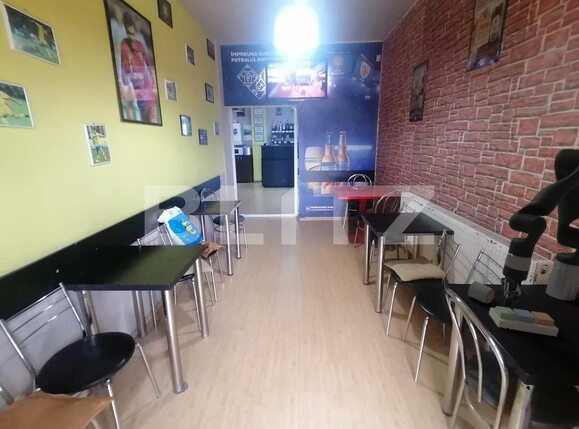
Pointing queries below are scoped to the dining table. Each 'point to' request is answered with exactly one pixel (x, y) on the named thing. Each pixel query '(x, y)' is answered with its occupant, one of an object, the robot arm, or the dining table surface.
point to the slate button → (524, 315)
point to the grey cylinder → (481, 292)
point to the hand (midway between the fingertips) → (506, 306)
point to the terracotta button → (542, 318)
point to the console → (523, 325)
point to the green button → (505, 313)
